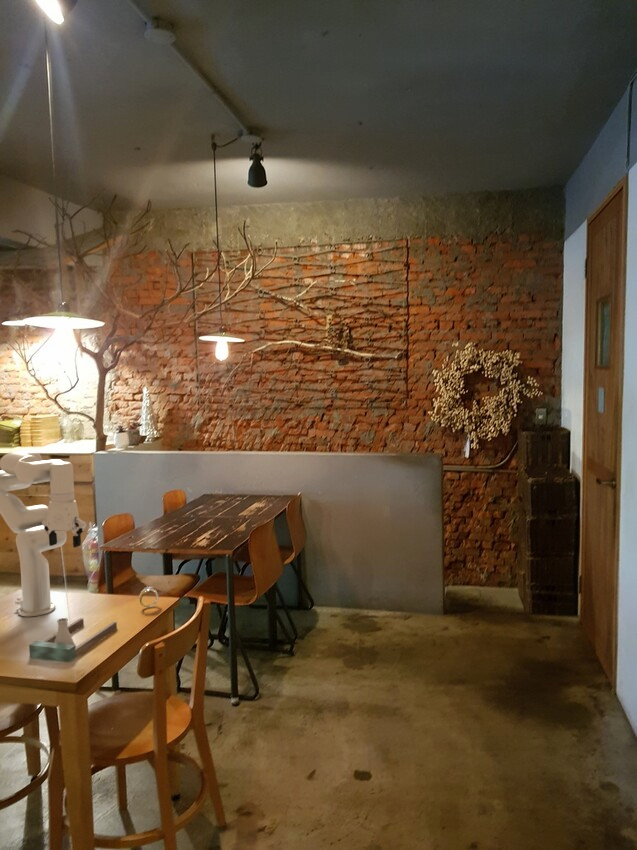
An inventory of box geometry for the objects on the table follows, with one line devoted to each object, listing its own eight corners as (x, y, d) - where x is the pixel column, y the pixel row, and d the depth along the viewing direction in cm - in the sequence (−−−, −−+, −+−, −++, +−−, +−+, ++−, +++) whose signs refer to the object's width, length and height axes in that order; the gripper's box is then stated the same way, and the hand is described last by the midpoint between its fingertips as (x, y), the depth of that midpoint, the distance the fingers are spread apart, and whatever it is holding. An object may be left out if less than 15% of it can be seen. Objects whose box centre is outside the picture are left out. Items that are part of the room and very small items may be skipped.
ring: (157, 604, 229) (157, 584, 229) (159, 607, 226) (158, 586, 226) (139, 607, 226) (138, 587, 226) (140, 610, 223) (139, 589, 223)
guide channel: (29, 657, 187) (29, 645, 186) (80, 625, 211) (80, 614, 211) (69, 662, 183) (68, 649, 183) (116, 628, 207) (116, 617, 207)
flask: (76, 643, 196) (75, 613, 195) (75, 652, 190) (74, 622, 189) (52, 647, 194) (50, 617, 193) (50, 656, 187) (49, 625, 186)
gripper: (34, 498, 207) (36, 547, 208) (77, 500, 203) (79, 550, 204) (48, 494, 214) (51, 541, 216) (91, 496, 210) (93, 544, 211)
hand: (65, 545), depth 210 cm, fingers open, 9 cm apart
